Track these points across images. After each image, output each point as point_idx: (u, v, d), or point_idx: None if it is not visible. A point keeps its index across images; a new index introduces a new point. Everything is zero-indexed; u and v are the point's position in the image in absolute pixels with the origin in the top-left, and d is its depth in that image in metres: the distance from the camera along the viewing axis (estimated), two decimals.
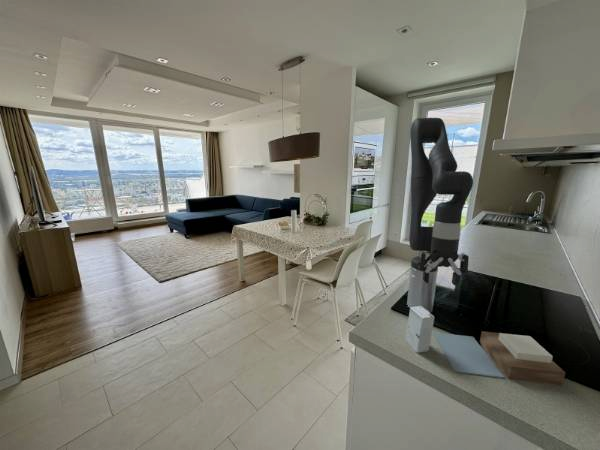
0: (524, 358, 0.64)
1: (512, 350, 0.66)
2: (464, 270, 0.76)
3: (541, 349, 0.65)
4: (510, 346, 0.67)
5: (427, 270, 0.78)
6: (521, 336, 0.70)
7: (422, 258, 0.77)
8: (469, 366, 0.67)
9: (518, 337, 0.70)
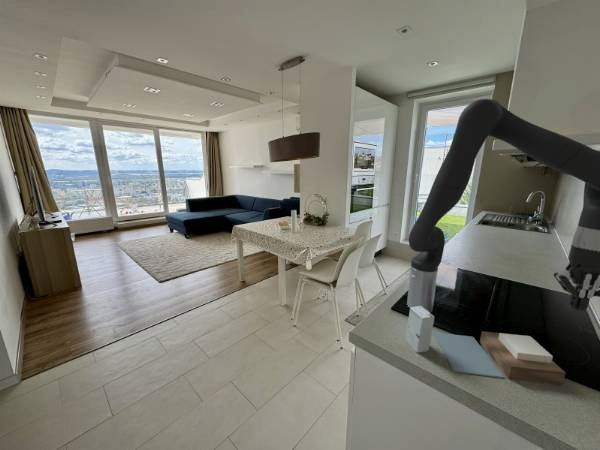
0: (524, 358, 0.64)
1: (512, 350, 0.66)
2: (598, 293, 0.60)
3: (541, 349, 0.65)
4: (510, 346, 0.67)
5: (582, 294, 0.61)
6: (521, 336, 0.70)
7: (565, 282, 0.61)
8: (469, 366, 0.67)
9: (518, 337, 0.70)
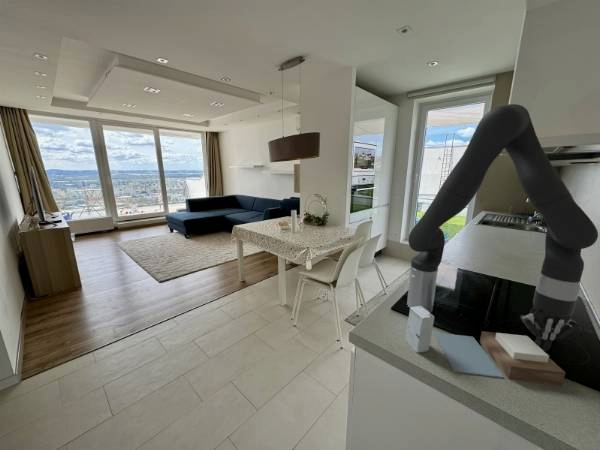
0: (521, 358, 0.64)
1: (509, 350, 0.66)
2: (559, 335, 0.64)
3: (538, 349, 0.65)
4: (507, 346, 0.67)
5: (545, 336, 0.65)
6: (518, 336, 0.70)
7: (530, 325, 0.65)
8: (469, 366, 0.67)
9: (515, 337, 0.70)
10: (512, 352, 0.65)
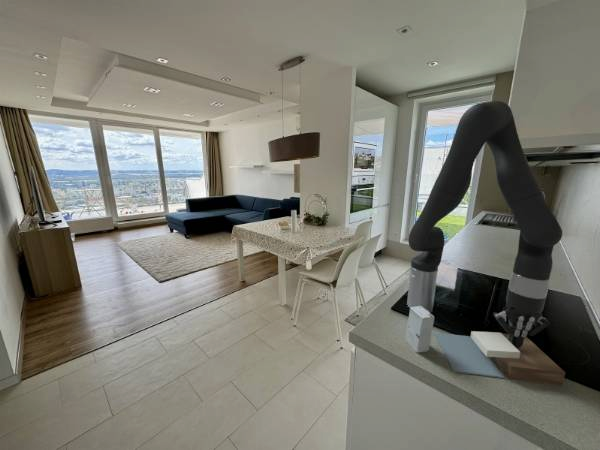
0: (493, 355, 0.65)
1: (482, 348, 0.67)
2: (530, 332, 0.65)
3: (510, 345, 0.66)
4: (480, 344, 0.68)
5: (517, 334, 0.66)
6: (492, 333, 0.72)
7: (502, 322, 0.66)
8: (469, 366, 0.67)
9: (489, 334, 0.71)
10: (485, 350, 0.66)
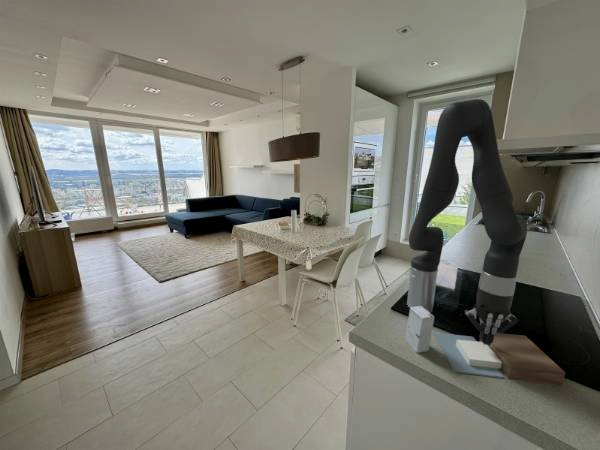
0: (476, 364, 0.67)
1: (466, 356, 0.69)
2: (500, 330, 0.66)
3: (493, 355, 0.68)
4: (464, 352, 0.70)
5: (487, 331, 0.67)
6: (476, 342, 0.73)
7: (472, 320, 0.67)
8: (469, 366, 0.67)
9: (473, 343, 0.73)
10: (468, 359, 0.67)
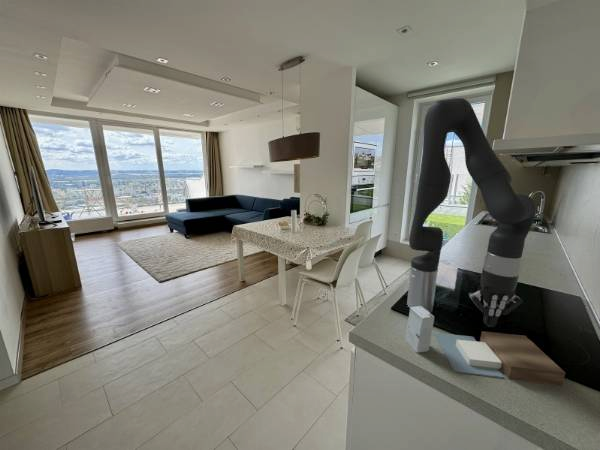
0: (476, 364, 0.67)
1: (466, 356, 0.69)
2: (504, 311, 0.66)
3: (493, 355, 0.68)
4: (464, 352, 0.70)
5: (491, 313, 0.66)
6: (476, 342, 0.73)
7: (476, 302, 0.66)
8: (469, 366, 0.67)
9: (473, 343, 0.73)
10: (468, 359, 0.67)
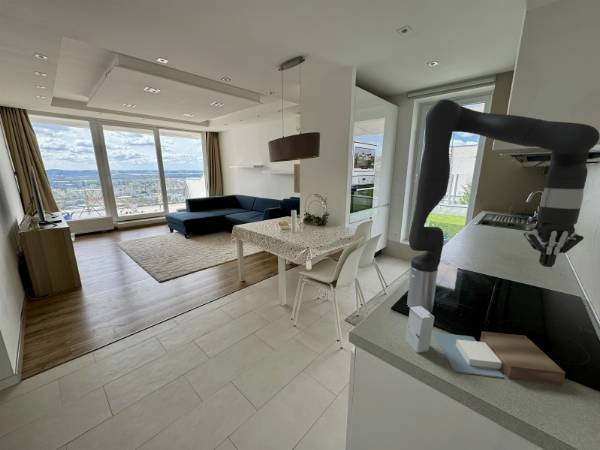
0: (476, 364, 0.67)
1: (466, 356, 0.69)
2: (563, 249, 0.65)
3: (493, 355, 0.68)
4: (464, 352, 0.70)
5: (549, 251, 0.66)
6: (476, 342, 0.73)
7: (533, 240, 0.66)
8: (469, 366, 0.67)
9: (473, 343, 0.73)
10: (468, 359, 0.67)
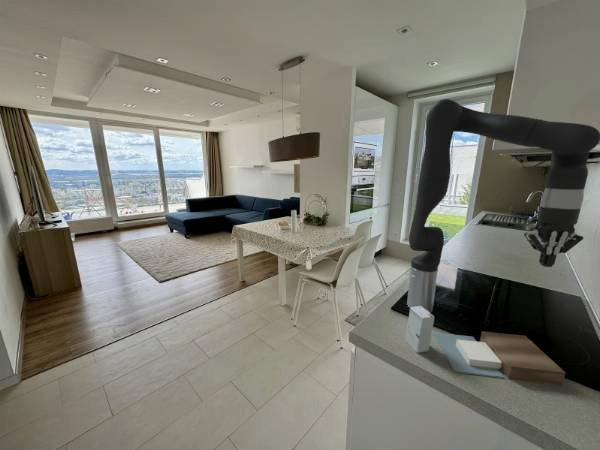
0: (476, 364, 0.67)
1: (466, 356, 0.69)
2: (563, 249, 0.65)
3: (493, 355, 0.68)
4: (464, 352, 0.70)
5: (549, 251, 0.66)
6: (476, 342, 0.73)
7: (534, 240, 0.66)
8: (469, 366, 0.67)
9: (473, 343, 0.73)
10: (468, 359, 0.67)
